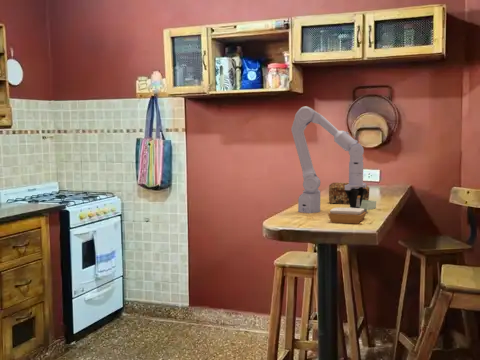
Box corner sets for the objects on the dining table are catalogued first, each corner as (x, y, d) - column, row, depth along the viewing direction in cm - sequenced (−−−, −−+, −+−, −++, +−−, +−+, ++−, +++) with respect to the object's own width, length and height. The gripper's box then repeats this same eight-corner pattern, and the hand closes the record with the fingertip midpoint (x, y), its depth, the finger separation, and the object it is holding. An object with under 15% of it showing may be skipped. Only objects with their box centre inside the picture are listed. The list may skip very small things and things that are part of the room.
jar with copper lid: (357, 213, 226) (357, 196, 226) (348, 212, 229) (349, 195, 228) (361, 212, 229) (362, 195, 228) (353, 211, 231) (353, 194, 231)
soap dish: (366, 221, 213) (366, 208, 212) (361, 225, 204) (361, 211, 203) (334, 219, 218) (334, 206, 217) (327, 223, 209) (327, 209, 208)
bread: (328, 204, 266) (328, 183, 266) (330, 201, 277) (331, 181, 276) (368, 205, 261) (368, 184, 260) (369, 202, 271) (370, 182, 271)
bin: (367, 212, 236) (367, 202, 236) (349, 210, 242) (349, 201, 241) (375, 210, 243) (376, 200, 242) (358, 208, 248) (359, 199, 247)
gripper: (356, 174, 219) (355, 209, 220) (373, 172, 230) (372, 205, 231) (340, 173, 224) (339, 207, 225) (357, 172, 235) (357, 204, 236)
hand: (355, 206), depth 229 cm, fingers closed on jar with copper lid, 4 cm apart
